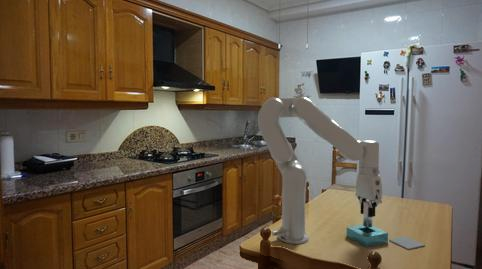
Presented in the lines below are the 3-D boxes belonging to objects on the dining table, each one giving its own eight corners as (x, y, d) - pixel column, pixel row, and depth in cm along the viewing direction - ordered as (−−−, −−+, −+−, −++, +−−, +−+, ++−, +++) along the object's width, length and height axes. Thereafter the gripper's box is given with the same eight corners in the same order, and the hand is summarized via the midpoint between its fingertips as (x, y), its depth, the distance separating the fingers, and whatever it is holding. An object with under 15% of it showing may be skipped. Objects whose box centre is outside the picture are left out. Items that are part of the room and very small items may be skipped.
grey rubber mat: (408, 249, 118) (408, 248, 118) (389, 240, 126) (389, 239, 126) (425, 245, 121) (425, 244, 121) (405, 237, 129) (405, 236, 129)
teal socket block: (366, 247, 120) (366, 237, 120) (346, 236, 131) (346, 227, 130) (387, 242, 124) (388, 232, 124) (367, 232, 135) (367, 223, 135)
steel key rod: (367, 227, 125) (367, 203, 124) (361, 224, 128) (361, 201, 127) (374, 226, 126) (374, 202, 125) (367, 223, 129) (368, 200, 129)
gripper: (392, 173, 119) (391, 220, 121) (360, 166, 134) (360, 208, 136) (377, 175, 116) (376, 223, 118) (347, 168, 132) (346, 210, 133)
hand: (367, 214), depth 127 cm, fingers closed on steel key rod, 3 cm apart
